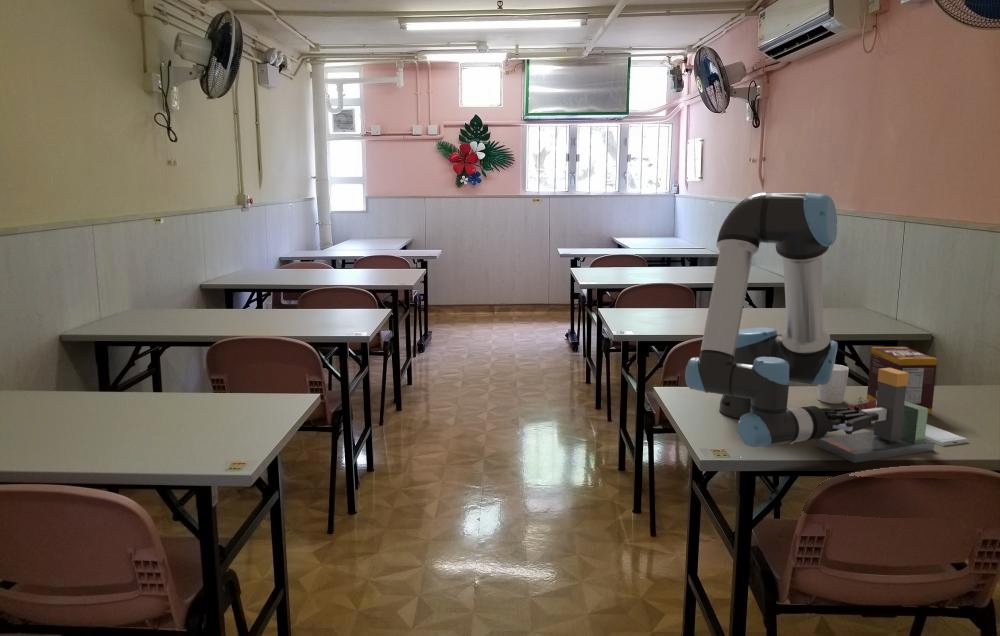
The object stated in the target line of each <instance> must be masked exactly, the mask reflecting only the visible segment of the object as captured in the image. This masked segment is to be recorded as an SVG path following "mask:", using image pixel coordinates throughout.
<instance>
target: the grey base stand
mask: <svg viewBox="0 0 1000 636" xmlns="http://www.w3.org/2000/svg"><path fill="white" fill-rule="evenodd" d="M928 415H929V414H928V408H925V407H922V406H919V405H916V404H913V403H910V402H907V401H905V402H904V412H903V421H902V431H901V440H897V441H888V440H886V439H883V438H881V437H878V436H876V435H874V430H871V431H864V432H857V433H852V434H843V435H841V434H840V435H835V436H830V437H829V436H828V437H822V438H821V439H818V445H817V447H819V448H820V449H822V450H824V451H828V452H830V453H831V454H834V455H836V456H838V457H839V458H842V459H845V460H847V461H848V462H851V463H854V464H855V463H862V462H868V461H875V460H880V459H887V458H892V457H893V458H894V457H900V456H901V457H902V456H907V455H912V454H918V453H919V454H920V453H925V452H926V453H927V452H933V451H932V450H934V451H935V444H936V443H935V442H932V441H930V440H927V439H925V432H926V424H928V423H927V420H928Z"/></svg>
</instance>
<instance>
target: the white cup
mask: <svg viewBox="0 0 1000 636" xmlns="http://www.w3.org/2000/svg"><path fill="white" fill-rule="evenodd" d="M849 370H850V369H849V367H848V366H846V365H841V364H836V363H834V366H833V370H832V374H831V377H830V380H829V382H828V383H827V384H825V385H818V384H817V387H818V388H817V391H818V392H817V393H818V394H817V395H818V397H817V400H819V401H821V402H822V403H827V404H836V405H837V404H843V403H844V401H845V394H846V389H847V384H848V376H849Z"/></svg>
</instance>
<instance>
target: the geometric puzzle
mask: <svg viewBox="0 0 1000 636" xmlns="http://www.w3.org/2000/svg"><path fill="white" fill-rule="evenodd" d="M858 399H859V400H858V402H853V403H851V405H848V407H849V408H851V410H854V407H855V406H857V407H859V411H860V410H864V409H872V408H876V406H877V402H876V400H875V401H867V400H865V399H864V398H863V397H862V396H860V397H859V398H858ZM862 399H863V400H864V401H863V400H862ZM865 401H866V402H865Z"/></svg>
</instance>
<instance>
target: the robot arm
mask: <svg viewBox="0 0 1000 636" xmlns="http://www.w3.org/2000/svg"><path fill="white" fill-rule="evenodd" d="M837 224H838V215H837V207H836V205H835V202H834V200H833V198H832V197H831V196H829V195H828V194H825V193H815V192H811V191H810V192H805V193H804V192H767V191H766V192H765V191H764V192H763V191H762V192H757V193H754V194H752V195H749V196H747V197H745V198H744V199H742V200H741V201H740V202H739V203H738V204H736V205H735V206H734V207H733V209H731V210H730V212H729V213H728V215H727V216H726V218H725V219H724V221H723V222H722V225H721V227H720V229H719V230H718V234H717V235H718V236H717V240H716V245H715V246H716V248H717V249H718V251H719V254H718V259H717V264H716V269H715V274H714V278H713V284H712V289H711V295H710V301H709V305H708V310H707V316H706V320H705V325H704V330H703V331H704V332H703V336H702V341H701V347H700V353H699V356H698V357H697V356H695V357H690V359H689V360H688V362H687V364H686V367H685V372H684V373H685V375H684V377H685V379H684V380H685V383H686V386H687V387H688V388H689V389H690V390H695V391H699V392H703V393H706V394H708V393H709V394H717V395H718V394H719V395H722V396H721V398H720V401H719V411H720V413H722V414H724V415H725V416H728V417H731V418H735V419H739V420H738V422H737V433H738V436H739V438H740V440H741V441H742V442H743V443H744V444H745V445H746V446H747V447H750V448H760V447H761V448H762V447H763V448H768V447H770V446H776V445H783V444H790V445H793V444H794V443H798V442H805V441H814V440H815V441H816V440H819V439H821V438H825V436H826V435H827V434H828V432H830V433H832V432H837V431H840V430H843V431H844V433H845V435H849V434H853V433H855V432H857V431H860V430H864V429H866V428H870V427H872V423H875V421H883V420H886V415H887V409H886V408H883V407H880V408H872V409H864V410H860V411H859V407H857V406H855V407H854V410H851V408H849V406H847V407H824V408H823V407H822V408H821V407H818V406H816V405H810V406H801V407H799V406H798V407H792V408H791V407H790V408H788V397H789V390H790V389H789V387H790V382H795V383H801V384H807V385H810V386H811V385H817V386H818V385H825V384H827V383H828V382H829V380H830V377H831V374H832V370H833V366H834V364H835V362H836V356H837V353H838V346H839V345H838V342H837V341H835V340H832V339H831V335H830V333H829V331H828V330H827V329H826V328H824V291H823V290H824V281H823V274H824V273H823V256H824V255H825V254H826V253H827V252H828V250H829V248H830V246H833V245H834V244H835V242H836V239H837V234H838V225H837ZM762 243H764V244H775V251H776V253H777V255H778V256H779V257H780V258H782V259H783V261H782V262H783V278H784V279H783V280H784V281H783V282H784V296H785V297H784V298H785V314H786V315H785V318H786V321H785V322H786V329H784V331H783V332H782V334H781V335H780V334H778V331H777V329H776V328H772V327H764V326H762V327H748V328H742V329H740V328H741V327H740V325H741V321H742V317H743V310H744V305H745V301H746V294H747V290H748V283H749V277H750V272H751V267H752V261H753V256H754V255H756V254H757V253H759V249H760V244H762Z"/></svg>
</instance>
